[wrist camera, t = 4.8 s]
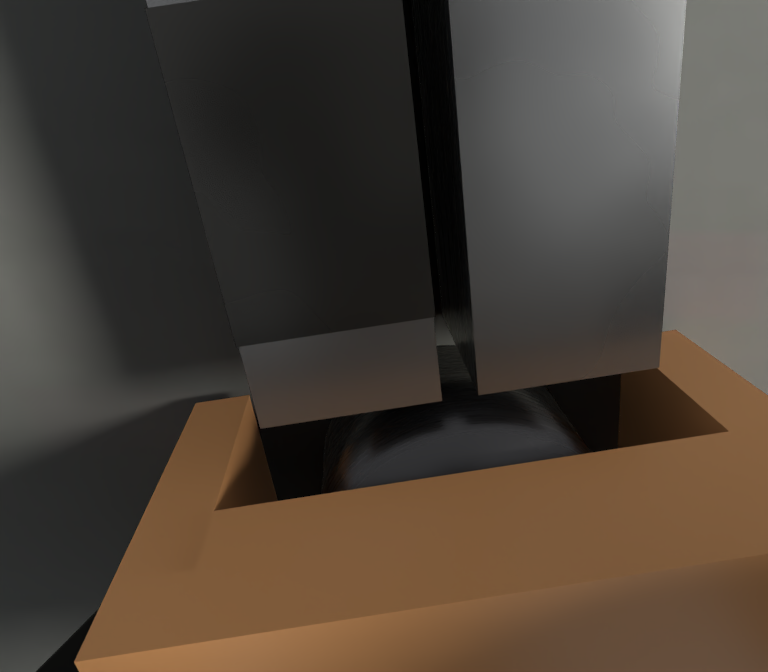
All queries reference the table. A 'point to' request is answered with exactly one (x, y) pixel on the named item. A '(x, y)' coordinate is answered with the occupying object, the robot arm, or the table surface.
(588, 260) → the tongs fixed
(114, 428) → the table surface
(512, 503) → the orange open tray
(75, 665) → the robot arm
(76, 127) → the table surface
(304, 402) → the arm
